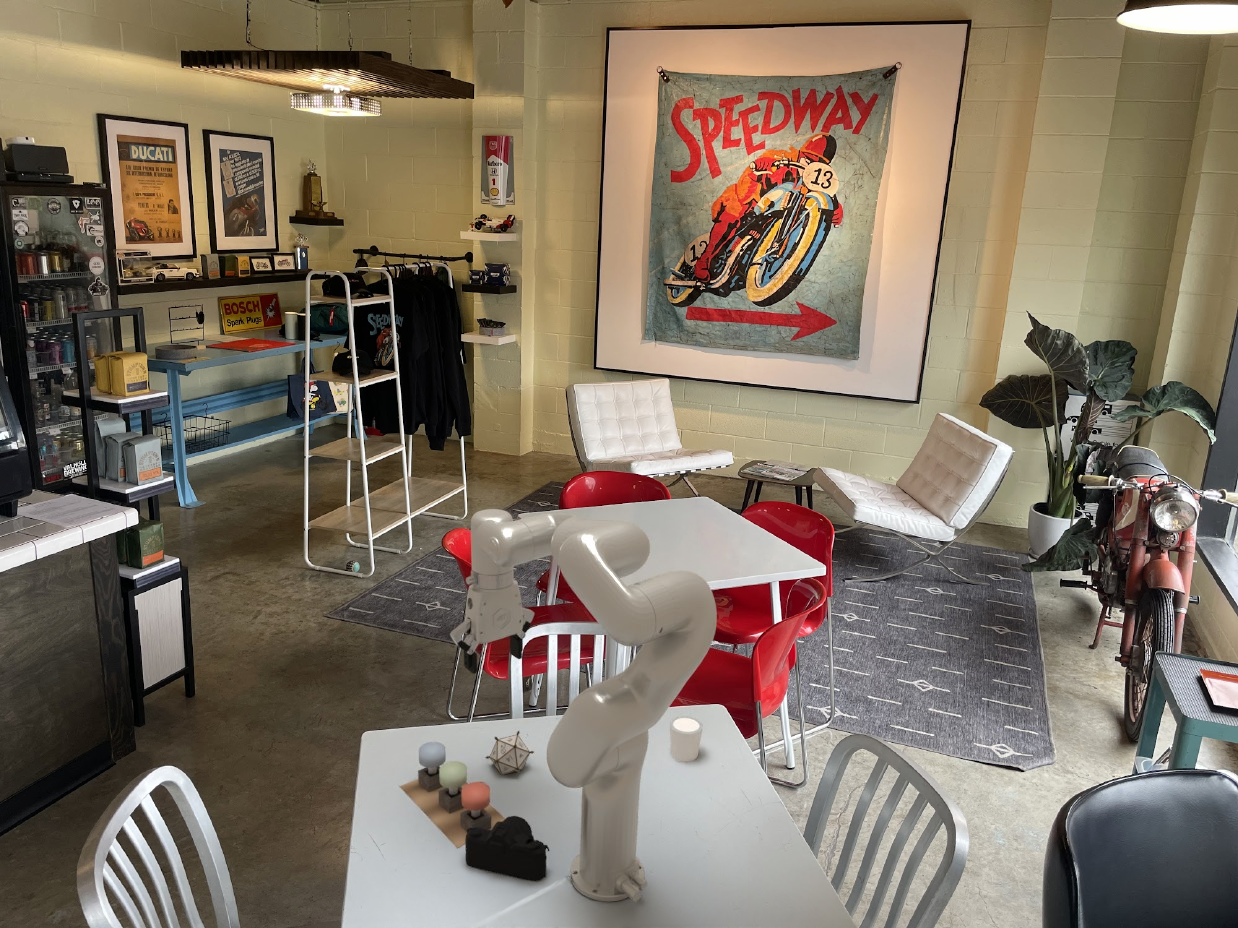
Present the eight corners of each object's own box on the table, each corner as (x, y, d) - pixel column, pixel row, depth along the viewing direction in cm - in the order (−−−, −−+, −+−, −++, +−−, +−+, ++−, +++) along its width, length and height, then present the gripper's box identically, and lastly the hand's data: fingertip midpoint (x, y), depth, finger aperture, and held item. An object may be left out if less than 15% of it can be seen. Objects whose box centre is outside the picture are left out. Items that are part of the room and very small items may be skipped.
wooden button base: (510, 829, 169) (510, 811, 168) (457, 853, 163) (457, 834, 162) (450, 771, 186) (449, 754, 185) (399, 791, 179) (399, 774, 178)
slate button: (450, 773, 179) (450, 750, 177) (427, 782, 176) (426, 759, 174) (437, 761, 182) (437, 738, 181) (414, 770, 179) (414, 747, 178)
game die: (516, 792, 186) (529, 773, 179) (477, 776, 185) (488, 757, 178) (529, 751, 192) (542, 732, 185) (491, 736, 192) (502, 716, 184)
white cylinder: (664, 759, 193) (666, 729, 191) (672, 742, 199) (674, 713, 197) (696, 766, 191) (698, 736, 189) (703, 748, 197) (705, 719, 195)
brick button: (495, 816, 167) (495, 791, 166) (470, 826, 164) (470, 802, 162) (480, 802, 171) (480, 778, 169) (456, 812, 167) (456, 788, 166)
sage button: (472, 794, 173) (472, 770, 171) (448, 803, 170) (447, 780, 168) (458, 781, 176) (458, 757, 175) (434, 790, 173) (434, 767, 172)
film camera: (560, 855, 164) (561, 811, 161) (541, 892, 154) (542, 846, 152) (480, 836, 167) (480, 793, 165) (457, 872, 158) (457, 826, 156)
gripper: (460, 594, 161) (463, 684, 165) (543, 573, 171) (543, 658, 176) (440, 581, 167) (442, 668, 171) (521, 561, 177) (522, 644, 181)
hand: (494, 663), depth 173 cm, fingers open, 9 cm apart
